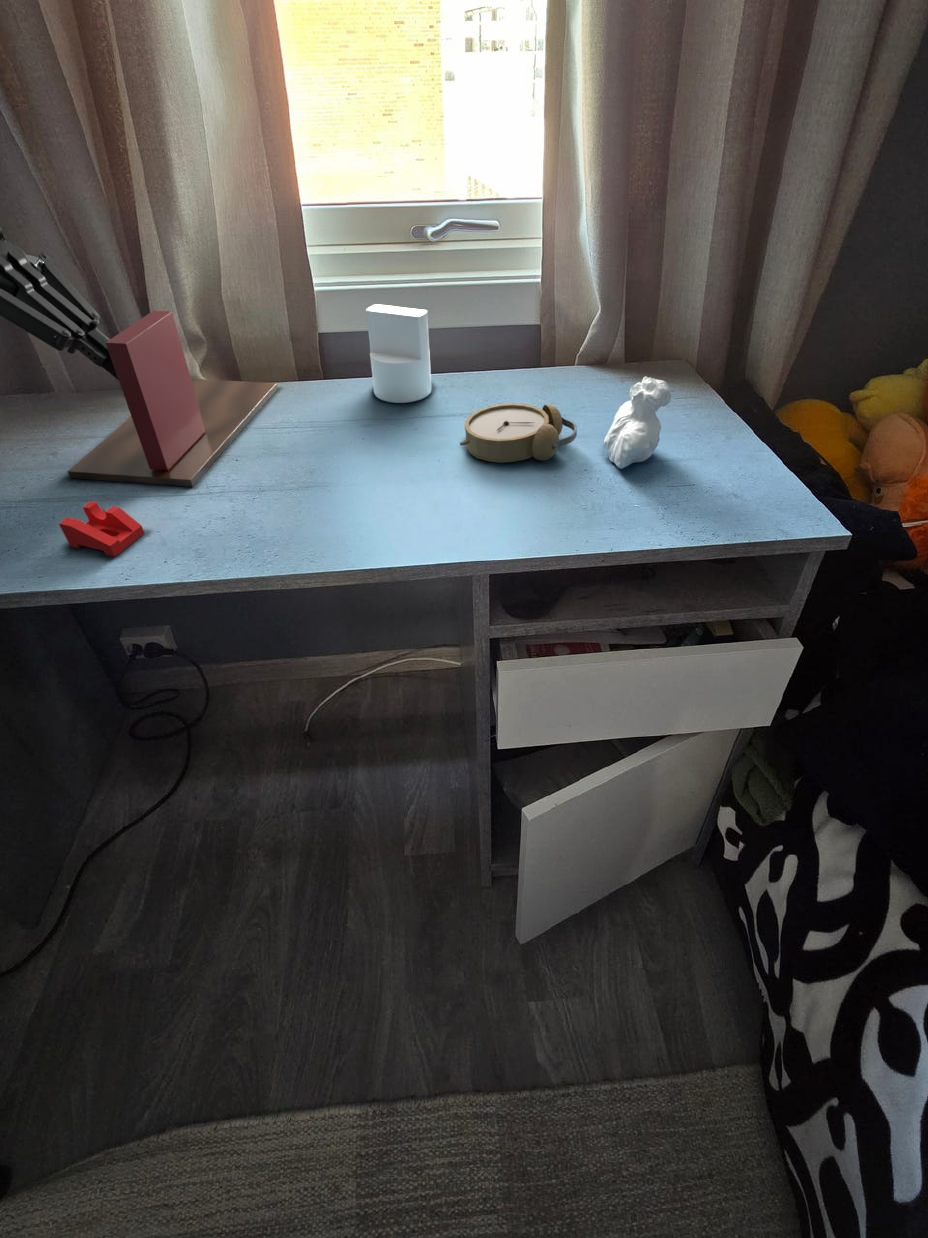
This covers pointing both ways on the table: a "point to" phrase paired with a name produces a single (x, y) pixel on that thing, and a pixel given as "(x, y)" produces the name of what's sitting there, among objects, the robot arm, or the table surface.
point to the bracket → (102, 529)
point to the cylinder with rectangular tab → (399, 353)
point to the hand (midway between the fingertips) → (134, 377)
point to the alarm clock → (516, 432)
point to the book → (157, 388)
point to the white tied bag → (637, 423)
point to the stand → (223, 420)
